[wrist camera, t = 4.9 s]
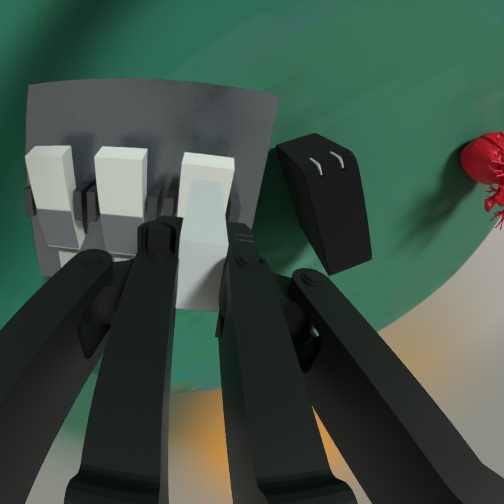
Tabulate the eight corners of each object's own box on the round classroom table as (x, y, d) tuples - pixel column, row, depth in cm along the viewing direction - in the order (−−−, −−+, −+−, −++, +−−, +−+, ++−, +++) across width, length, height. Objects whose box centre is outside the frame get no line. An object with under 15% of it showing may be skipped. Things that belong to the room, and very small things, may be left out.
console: (59, 82, 21) (8, 87, 13) (266, 94, 25) (290, 96, 17) (62, 246, 30) (30, 293, 22) (232, 264, 34) (240, 318, 27)
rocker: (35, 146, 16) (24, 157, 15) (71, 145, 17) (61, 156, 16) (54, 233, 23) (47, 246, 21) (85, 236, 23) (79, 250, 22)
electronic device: (300, 227, 33) (330, 280, 24) (273, 143, 28) (302, 170, 19) (334, 215, 33) (373, 263, 24) (312, 131, 27) (357, 153, 19)
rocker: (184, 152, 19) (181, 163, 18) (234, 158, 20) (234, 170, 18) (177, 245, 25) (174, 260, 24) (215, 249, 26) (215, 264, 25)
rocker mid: (102, 146, 18) (93, 157, 16) (147, 148, 18) (141, 160, 17) (111, 239, 24) (106, 253, 23) (147, 242, 25) (144, 257, 23)
